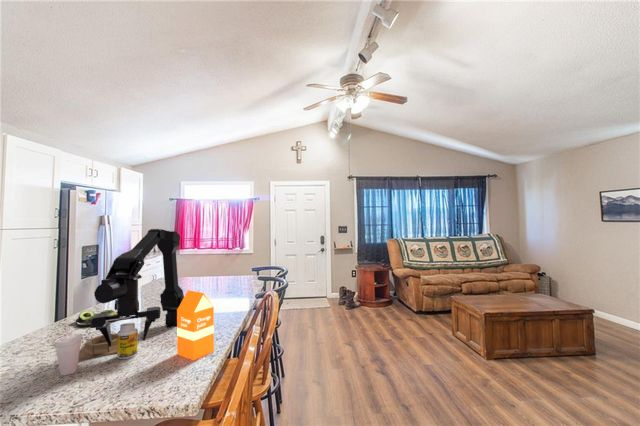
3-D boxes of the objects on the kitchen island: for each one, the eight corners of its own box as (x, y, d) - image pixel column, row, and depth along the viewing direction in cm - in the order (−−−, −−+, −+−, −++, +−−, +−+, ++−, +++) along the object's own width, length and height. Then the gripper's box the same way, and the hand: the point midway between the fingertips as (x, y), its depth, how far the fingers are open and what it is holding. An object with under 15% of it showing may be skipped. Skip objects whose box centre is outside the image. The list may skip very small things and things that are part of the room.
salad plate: (124, 311, 147) (124, 302, 147) (132, 319, 134) (132, 309, 135) (74, 320, 134) (74, 310, 134) (78, 330, 121) (78, 319, 121)
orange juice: (193, 360, 92) (193, 295, 92) (176, 354, 96) (176, 292, 97) (214, 350, 98) (214, 290, 99) (197, 345, 103) (197, 287, 104)
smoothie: (65, 367, 89) (65, 320, 89) (88, 365, 90) (88, 319, 90) (47, 378, 83) (48, 327, 83) (72, 376, 83) (72, 326, 84)
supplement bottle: (116, 361, 92) (116, 328, 92) (117, 355, 97) (117, 323, 97) (137, 356, 95) (137, 324, 95) (137, 350, 100) (137, 320, 100)
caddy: (130, 339, 110) (130, 329, 110) (125, 351, 99) (125, 341, 99) (83, 347, 104) (83, 336, 104) (72, 361, 93) (72, 349, 93)
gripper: (161, 286, 108) (161, 330, 107) (98, 293, 100) (98, 340, 99) (159, 293, 98) (159, 341, 97) (89, 300, 90) (89, 353, 89)
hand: (127, 343), depth 96 cm, fingers open, 9 cm apart
